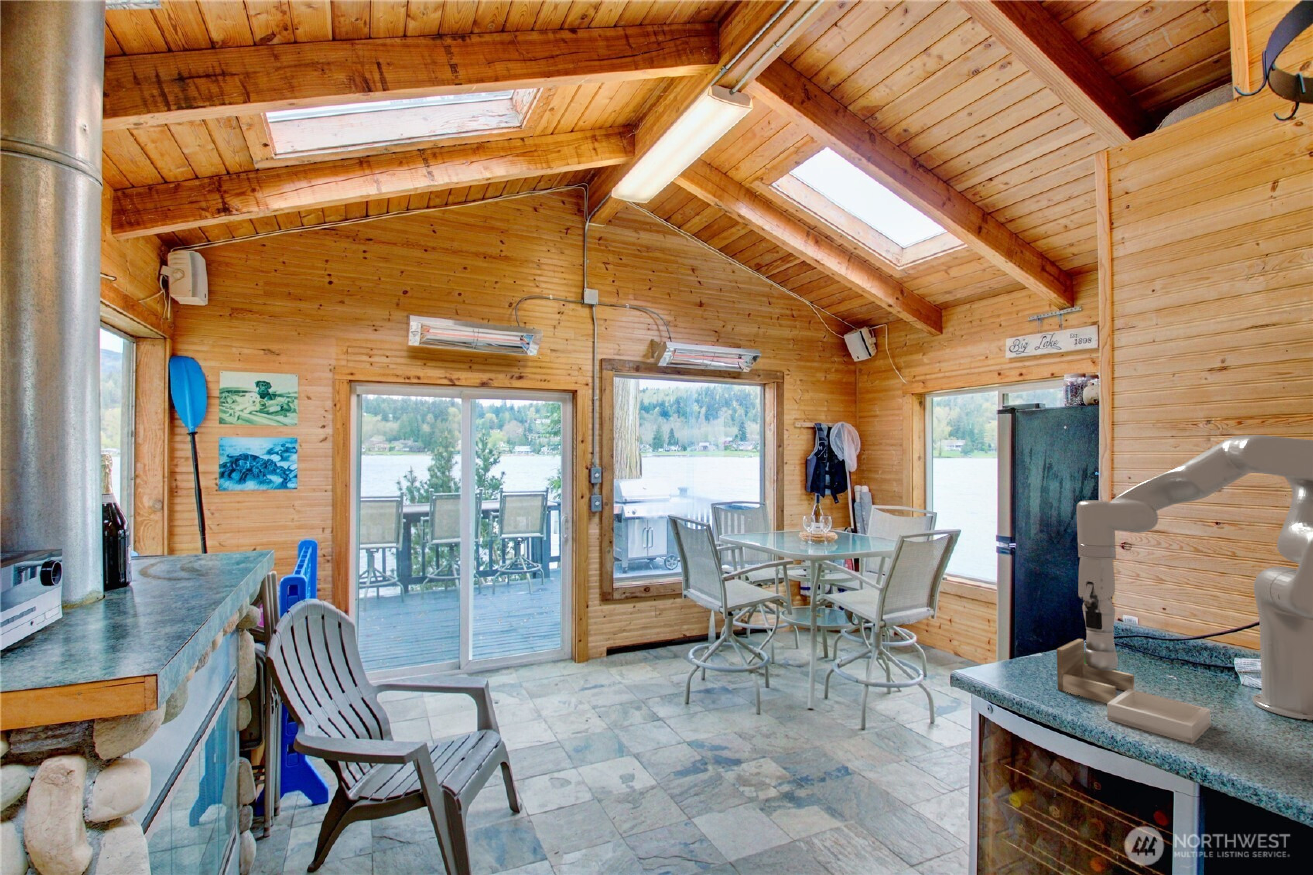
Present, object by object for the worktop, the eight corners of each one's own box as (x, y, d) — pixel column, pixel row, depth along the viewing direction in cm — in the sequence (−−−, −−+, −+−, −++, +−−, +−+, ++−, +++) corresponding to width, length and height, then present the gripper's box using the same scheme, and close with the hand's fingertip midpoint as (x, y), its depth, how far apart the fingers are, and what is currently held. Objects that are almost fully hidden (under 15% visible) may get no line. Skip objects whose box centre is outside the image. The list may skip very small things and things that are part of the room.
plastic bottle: (1124, 674, 148) (1120, 589, 148) (1092, 673, 149) (1088, 588, 150) (1110, 665, 154) (1107, 583, 155) (1079, 664, 155) (1076, 583, 156)
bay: (1134, 691, 152) (1133, 649, 152) (1114, 705, 143) (1113, 661, 144) (1079, 677, 161) (1078, 638, 161) (1057, 690, 153) (1056, 648, 153)
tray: (1210, 725, 133) (1210, 708, 133) (1192, 743, 125) (1191, 726, 125) (1129, 704, 144) (1128, 688, 144) (1107, 719, 136) (1107, 703, 136)
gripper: (1092, 546, 160) (1095, 616, 160) (1064, 553, 150) (1067, 629, 150) (1127, 549, 154) (1130, 622, 154) (1101, 557, 144) (1104, 636, 144)
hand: (1099, 625), depth 152 cm, fingers closed on plastic bottle, 6 cm apart
